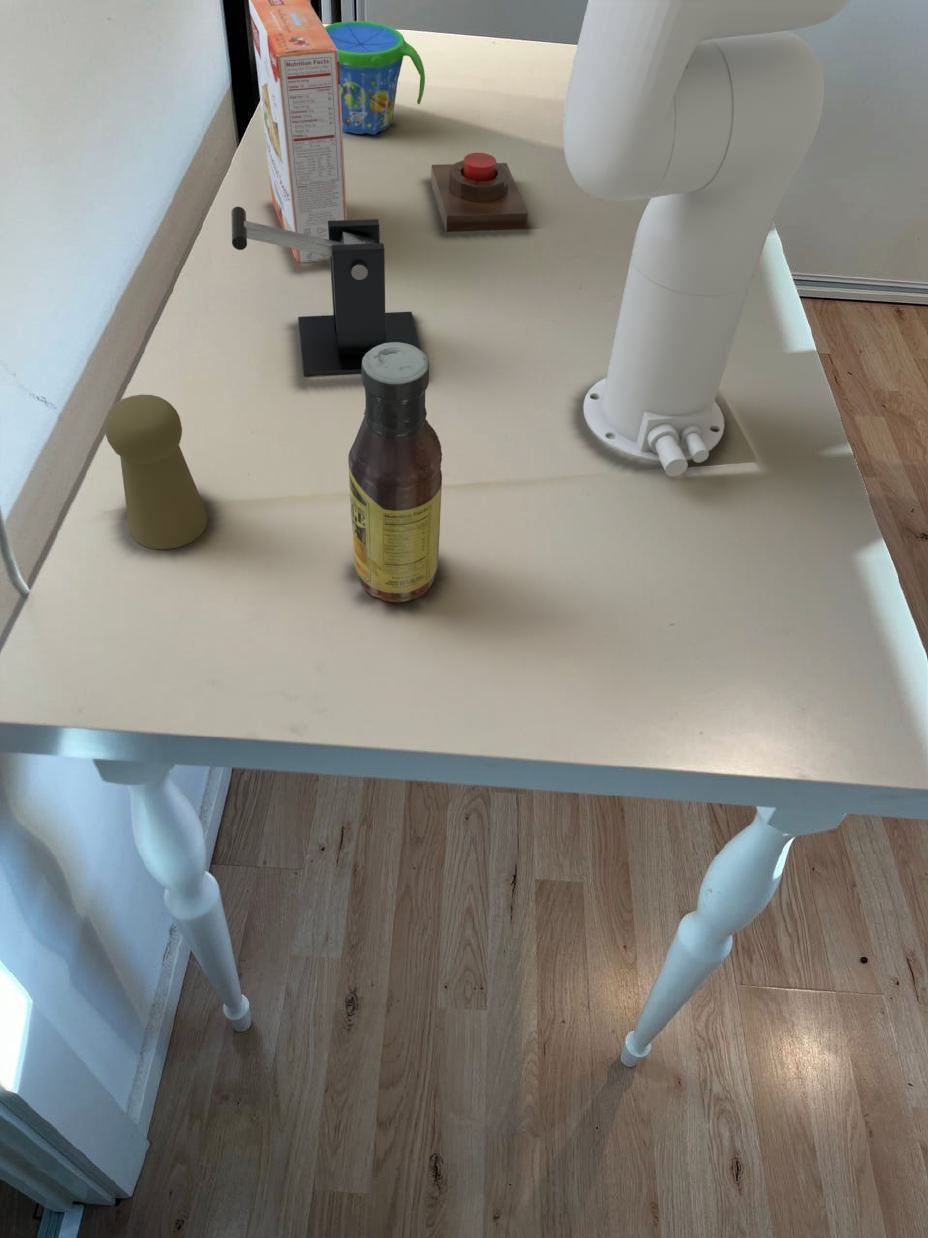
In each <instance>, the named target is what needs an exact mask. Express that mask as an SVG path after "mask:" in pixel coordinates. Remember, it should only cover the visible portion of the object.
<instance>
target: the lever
mask: <svg viewBox="0 0 928 1238" xmlns="http://www.w3.org/2000/svg"><path fill="white" fill-rule="evenodd" d="M230 213H231V214H230V215H231V217H230V218H231V245H232V247H233V248H234V249H235V250H238V251H243V250H245V249H246V248H247V246H248V240H253V241H257V242H262V243H267V244H271V245H275V246H279V247H284V248H289V249H291V248H293V249H298V250H302V251H307V252H311V253H316V254H320V255H325V256H329V257H332V252H331V245H346V244H374V243H375V242H374V239H372V238H368V237H364V236H359V235H355V234H351V233H346V232H343V233H342V237H341V241H340V242H337V241H332V240H328V239H324V238H319V237H315V236H310V235H306V234H302V233H297V232H293V231H288V230H284V229H283V228H280V227H275V226H270V225H266V224H261V223H257V222H252V221H248V220H247V212H246V210H245V209H244V208H243V207H242V206H235V207H233V208H232V210H231V212H230Z"/></svg>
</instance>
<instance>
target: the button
mask: <svg viewBox="0 0 928 1238" xmlns="http://www.w3.org/2000/svg"><path fill="white" fill-rule="evenodd" d="M463 160H464V167H463V176H464V177H465V178H467V179H469V180H474V181H490V180H492V179H494V178H495V171H496V162H497V159H496V157H495V156H493V155H492V154H490V153H486V152H471V153H467V154H466V155H465V156H464V157H463Z"/></svg>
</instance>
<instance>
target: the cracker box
mask: <svg viewBox="0 0 928 1238" xmlns="http://www.w3.org/2000/svg"><path fill="white" fill-rule="evenodd" d="M248 7H249V15H250V23H251V32H252V40H253V49H254V56H255V64H256V72H257V73H256V74H257V82H258V92H259V99H260V108H261V116H262V123H263V125H262V126H263V133H264V141H265V147H266V148H265V149H266V158H267V168H268V175H269V184H270V185H269V186H270V193H271V194H270V195H271V202H272V206H273V208H274V210H275V213H276V215H277V218H278V220H279V224H280V225H281V229H284V230H288V231H293V232H297V233H302V234H306V235H310V236H315V237H319V238H324V239H328V240H329V236H328V221H337V220H348V211H347V210H348V209H347V195H346V194H347V192H346V191H347V190H346V173H345V171H346V170H345V154H344V153H345V151H344V137H343V136H344V135H343V130H342V113H341V91H340V72H339V53H338V50H337V48H336V46H335V44H334V43H333V41H332V39H331V38H330V36H329V34H328V33H327V31H326V29H325V28H324V27H325V26H324V24H323V23H322V21H321V19H320V18H319V16H318V15H317V13H316V11H315V9H314V8H313V6H312V4H311V2H310V0H248ZM290 250H291V251H292V254H293V256H294V258H295V261H296V262H297V264H300V263H301V264H302V263H310V262H319V261H328V260H329V261H330V257H329V256H325V255H320V254H316V253H311V252H307V251H302V250H298V249H293V248H290Z"/></svg>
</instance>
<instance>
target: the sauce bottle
mask: <svg viewBox="0 0 928 1238" xmlns="http://www.w3.org/2000/svg"><path fill="white" fill-rule="evenodd" d="M420 350H421V349H420ZM420 350H419V349H418V348H416V347H415V346H412V345H409V344H405V343H399V342H391V343H384V344H381V345H378V346H376V347H374V348H373V349H371V350H370V351H369V352H367V353H366V354H365V356H364V357H363V359H362V374H360V375H361V377H360V378H361V383H362V385H363V387H364V395H365V400H364V401H365V404H364V405H365V407H364V408H365V409H364V411H363V419H362V421H361V424H360V426H359V429H358V430H357V434H356V436H355V439H354V441H353V443H352V446H351V447H350V450H349V453H348V457H347V459H348V460H347V462H348V463H347V464H348V478H349V479H348V480H349V493H350V494H349V497H350V512H351V514H350V515H351V516H350V517H351V530H352V546H353V562H354V563H353V564H354V568H355V571H356V573H357V577H358V580H359V582H360V585H361V587H362V588H363V590H365V592H366V593H368V594H369V595H370V596H372V597H375V598H377V599H378V600H381V601H384V602H389V603H390V602H391V603H405V602H409V601H414V600H415V599H418V598H421V597H422V596H424V595H425V593H426V592H427V591H429V589H430V588H431V586H432V584H433V583H434V580H435V578H436V575H437V569H438V564H439V552H440V550H439V549H440V532H441V531H440V530H441V509H442V491H443V490H442V489H443V488H442V487H443V472H442V461H443V453H442V444H441V442H440V440H439V439H440V438H439V436H438V434H437V432H436V430H435V429H434V427H432V425H431V424H430V423H429V421H428V419H426V418H427V408H426V390H427V389H428V387H429V383H430V362H429V358H428V356H427V355H426V353H425V352H424V351H422V350H421V351H420Z"/></svg>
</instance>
